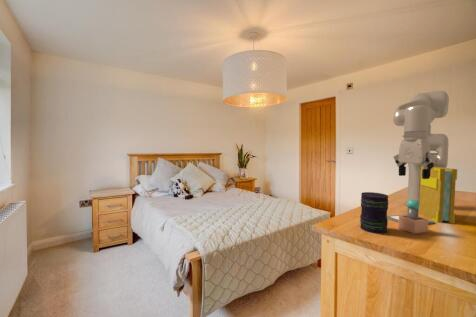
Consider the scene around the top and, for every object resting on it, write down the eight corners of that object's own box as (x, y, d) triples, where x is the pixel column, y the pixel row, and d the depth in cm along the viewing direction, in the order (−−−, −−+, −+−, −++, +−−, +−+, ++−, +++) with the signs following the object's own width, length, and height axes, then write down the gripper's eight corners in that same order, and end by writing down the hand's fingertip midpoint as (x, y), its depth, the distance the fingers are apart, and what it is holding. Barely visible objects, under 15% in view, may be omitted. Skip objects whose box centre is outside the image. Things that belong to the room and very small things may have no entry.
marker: (411, 226, 94) (412, 199, 93) (420, 230, 90) (421, 201, 90) (404, 227, 93) (405, 199, 92) (413, 231, 89) (414, 202, 89)
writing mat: (408, 215, 112) (408, 213, 112) (434, 223, 100) (435, 221, 100) (385, 217, 108) (385, 215, 108) (409, 226, 96) (409, 224, 96)
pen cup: (410, 226, 96) (411, 214, 95) (427, 232, 89) (428, 219, 89) (398, 228, 94) (398, 215, 94) (414, 234, 87) (415, 220, 87)
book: (454, 223, 100) (457, 169, 99) (437, 222, 101) (440, 168, 100) (430, 212, 117) (432, 166, 115) (415, 211, 118) (417, 165, 117)
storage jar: (355, 228, 94) (356, 193, 93) (366, 223, 100) (367, 191, 99) (381, 236, 86) (382, 198, 85) (391, 230, 92) (392, 195, 91)
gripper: (388, 136, 98) (387, 174, 99) (431, 135, 81) (429, 180, 82) (401, 137, 100) (400, 174, 101) (446, 135, 83) (443, 179, 84)
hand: (413, 177), depth 92 cm, fingers open, 9 cm apart
